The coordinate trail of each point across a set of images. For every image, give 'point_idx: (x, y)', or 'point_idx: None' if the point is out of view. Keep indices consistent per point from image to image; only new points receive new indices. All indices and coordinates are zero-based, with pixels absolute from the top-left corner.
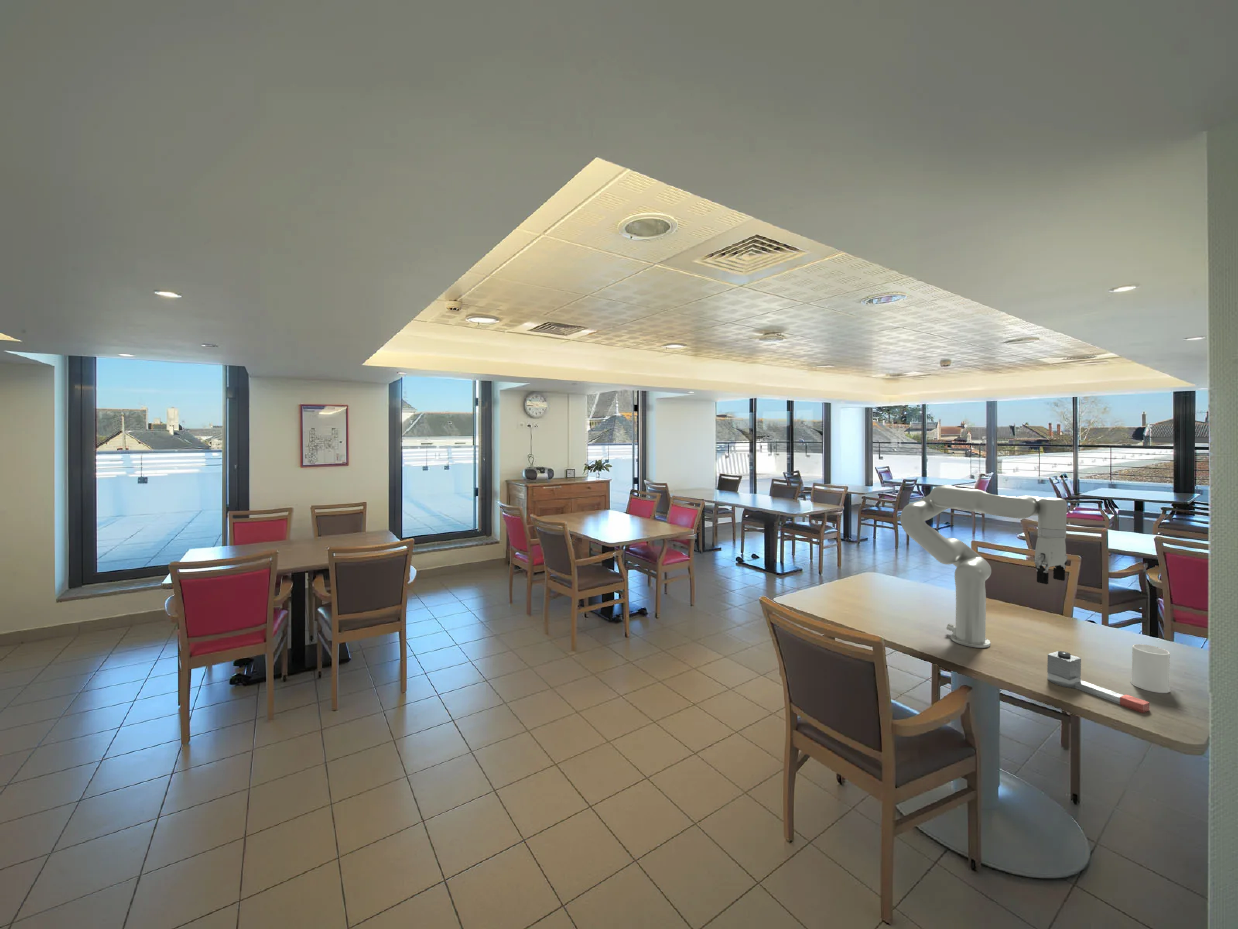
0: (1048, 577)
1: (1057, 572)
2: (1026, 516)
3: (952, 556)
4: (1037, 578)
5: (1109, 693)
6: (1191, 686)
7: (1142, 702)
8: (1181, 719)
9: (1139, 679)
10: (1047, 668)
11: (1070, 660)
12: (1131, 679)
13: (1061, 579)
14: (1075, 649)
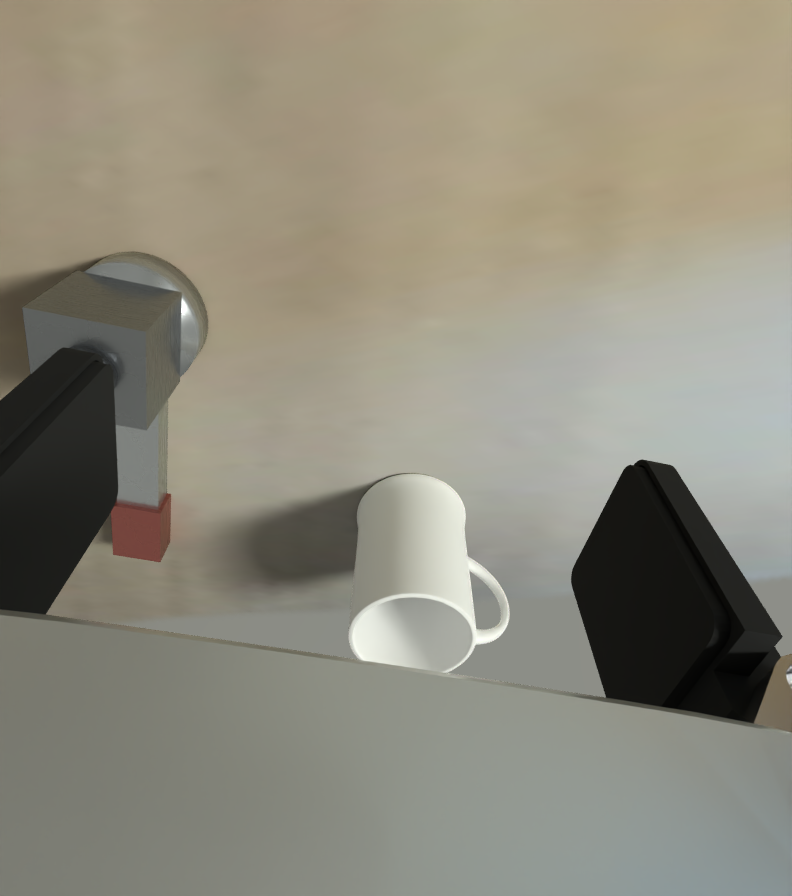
0: (47, 593)
1: (647, 614)
2: None
3: None
4: (25, 391)
5: (121, 475)
6: (531, 585)
7: (134, 551)
8: (190, 594)
9: (361, 521)
10: (66, 277)
11: None
12: (392, 486)
13: (584, 567)
14: (721, 233)
